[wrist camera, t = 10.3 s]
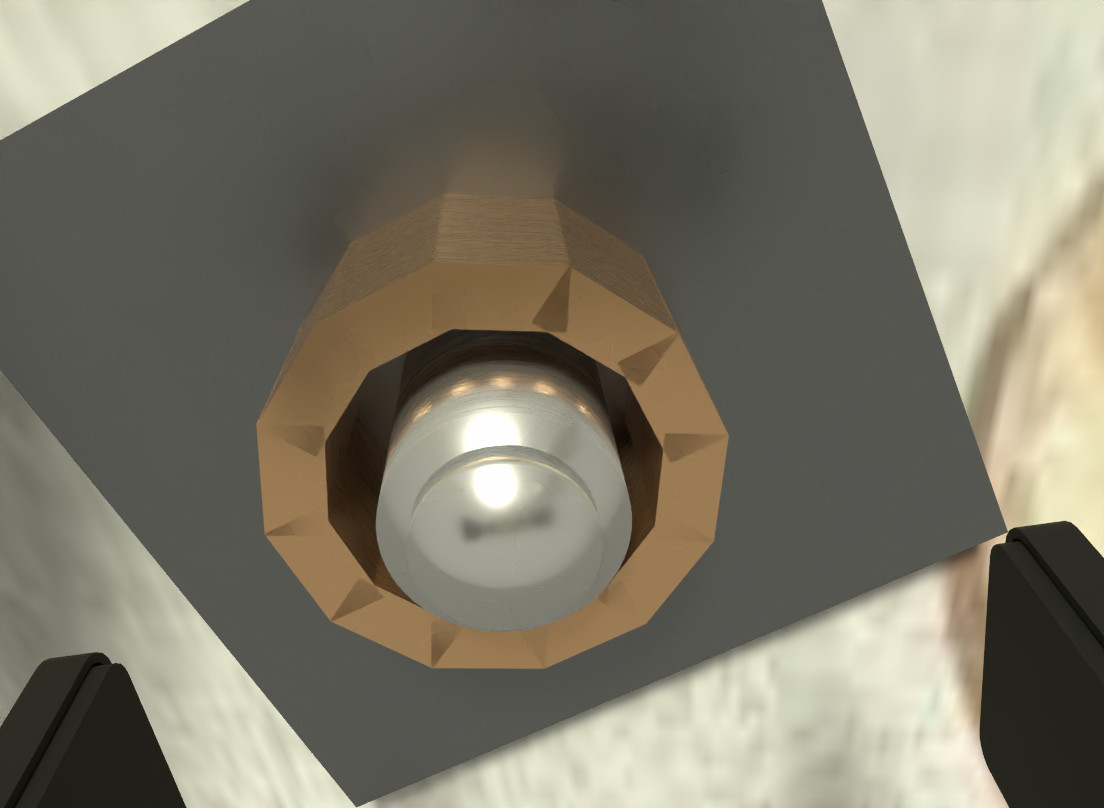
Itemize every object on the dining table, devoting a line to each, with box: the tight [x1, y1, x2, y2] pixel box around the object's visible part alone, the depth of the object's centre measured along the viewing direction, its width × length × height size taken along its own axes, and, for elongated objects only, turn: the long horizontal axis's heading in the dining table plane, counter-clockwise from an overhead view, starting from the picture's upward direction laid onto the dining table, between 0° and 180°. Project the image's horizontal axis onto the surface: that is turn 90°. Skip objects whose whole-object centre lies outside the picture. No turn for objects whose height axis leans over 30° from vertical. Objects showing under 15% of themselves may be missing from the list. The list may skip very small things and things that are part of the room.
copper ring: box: [256, 194, 729, 669], centre depth 18 cm, size 7×7×4 cm
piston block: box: [0, 0, 1008, 807], centre depth 18 cm, size 16×16×7 cm
